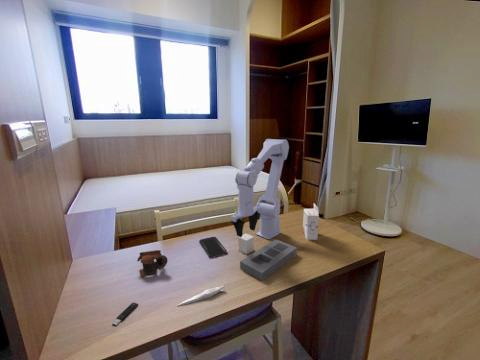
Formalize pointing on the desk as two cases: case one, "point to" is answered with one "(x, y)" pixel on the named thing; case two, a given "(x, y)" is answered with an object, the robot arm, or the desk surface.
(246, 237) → the plug
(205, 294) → the white tapered rod
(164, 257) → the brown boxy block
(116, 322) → the usb flash drive
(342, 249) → the desk surface
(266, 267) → the power strip
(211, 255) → the phone
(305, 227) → the ink cartridge box
